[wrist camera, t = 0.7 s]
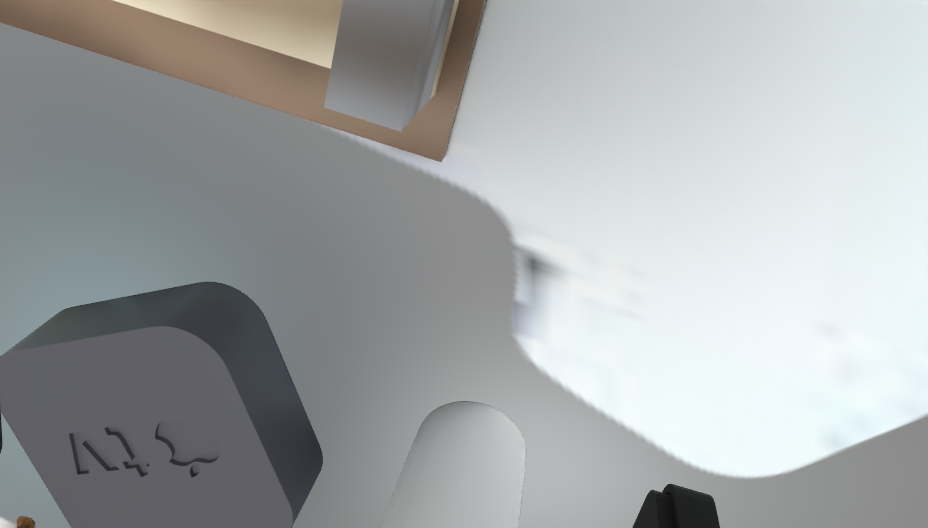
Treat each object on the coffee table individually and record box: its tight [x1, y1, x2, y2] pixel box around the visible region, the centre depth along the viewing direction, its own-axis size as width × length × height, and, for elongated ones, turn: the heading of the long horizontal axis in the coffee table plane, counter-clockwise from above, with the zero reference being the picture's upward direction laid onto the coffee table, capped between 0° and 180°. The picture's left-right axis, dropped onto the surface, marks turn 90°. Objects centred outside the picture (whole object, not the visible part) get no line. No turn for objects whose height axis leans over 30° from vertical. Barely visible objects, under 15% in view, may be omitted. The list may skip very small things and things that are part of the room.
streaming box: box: [0, 282, 323, 528], centre depth 43 cm, size 14×14×5 cm
